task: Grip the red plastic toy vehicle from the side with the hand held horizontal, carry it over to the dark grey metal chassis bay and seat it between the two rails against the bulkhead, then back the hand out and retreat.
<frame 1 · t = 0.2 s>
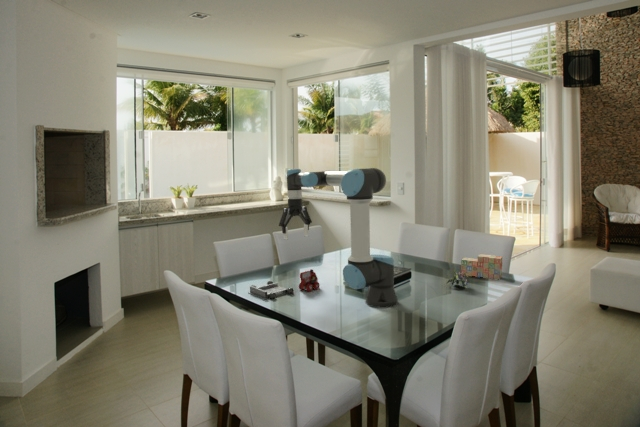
hand: (296, 238, 249), 27 cm above the table, tool pointing down, fingers open, 13 cm apart
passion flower: (457, 288, 246), on the table
stack of blocks: (481, 276, 267), on the table
red plastic toy vehicle: (309, 289, 249), on the table
chassis bay: (272, 292, 245), on the table
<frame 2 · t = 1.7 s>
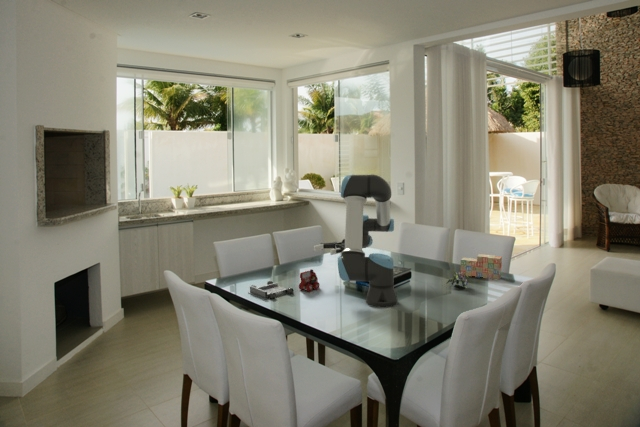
hand: (322, 250, 252), 20 cm above the table, tool horizontal, fingers open, 13 cm apart
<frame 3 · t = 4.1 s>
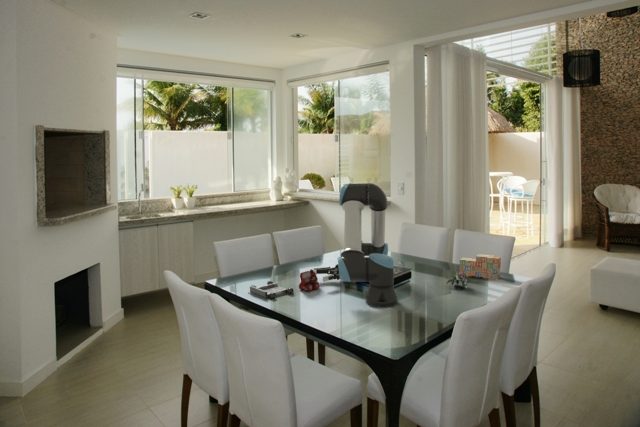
hand: (315, 276, 251), 6 cm above the table, tool horizontal, fingers open, 13 cm apart
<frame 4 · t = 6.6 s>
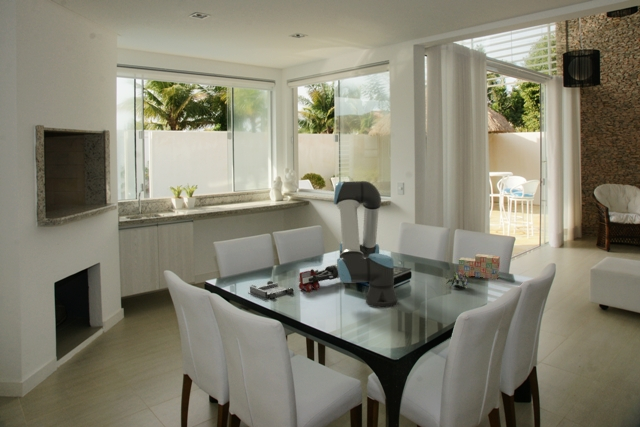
hand: (301, 280, 244), 6 cm above the table, tool horizontal, fingers closed on red plastic toy vehicle, 3 cm apart
red plastic toy vehicle: (309, 289, 248), on the table, touching gripper
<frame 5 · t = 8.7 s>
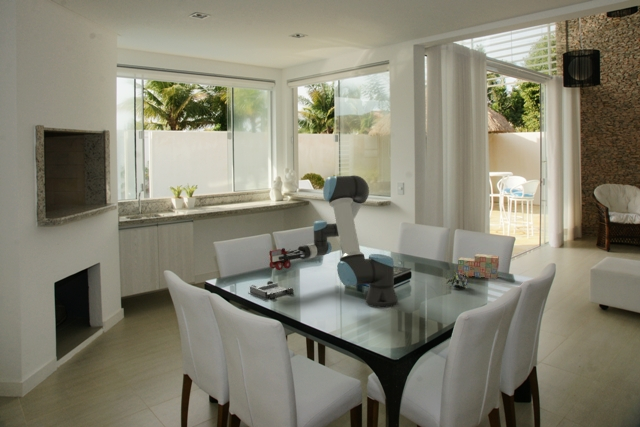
hand: (271, 258, 242), 18 cm above the table, tool horizontal, fingers closed on red plastic toy vehicle, 3 cm apart
red plastic toy vehicle: (280, 268, 246), point 12 cm above the table, touching gripper
when the fingers open (9 cm above the table, at t = 11.0 s): red plastic toy vehicle drops 2 cm, resting on chassis bay.
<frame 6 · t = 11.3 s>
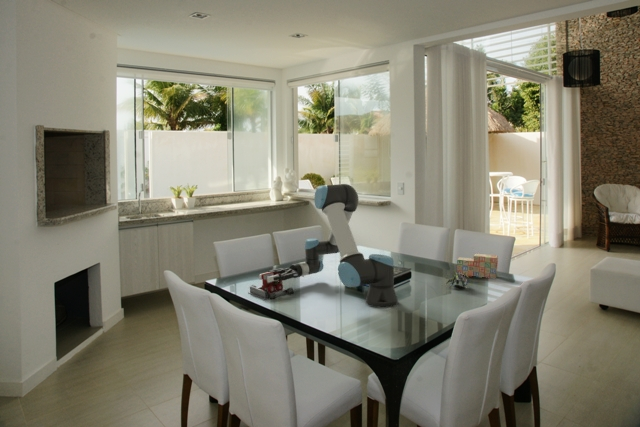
hand: (263, 278, 241), 8 cm above the table, tool horizontal, fingers open, 7 cm apart
red plastic toy vehicle: (272, 291, 245), resting on chassis bay
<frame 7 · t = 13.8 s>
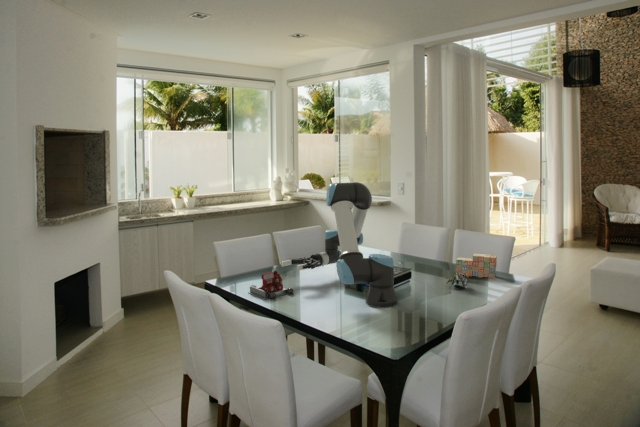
hand: (289, 266, 251), 12 cm above the table, tool horizontal, fingers open, 13 cm apart
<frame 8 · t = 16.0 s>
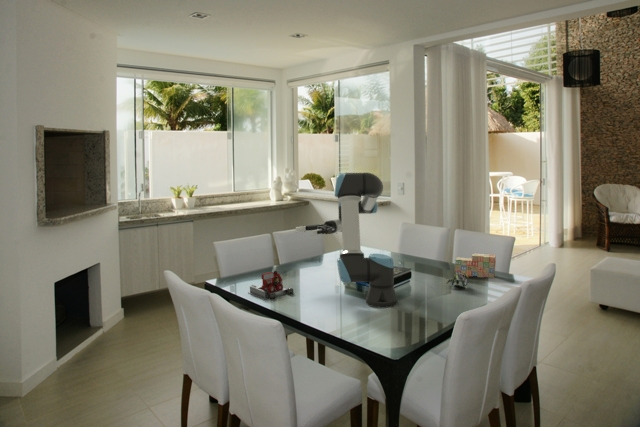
hand: (303, 231, 251), 30 cm above the table, tool horizontal, fingers open, 13 cm apart
at the end: red plastic toy vehicle inside the target area on the chassis bay (0.3 cm from its centre), point 0.4 cm above the chassis bay's base; red plastic toy vehicle tilted 0°; the gripper is holding nothing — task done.
